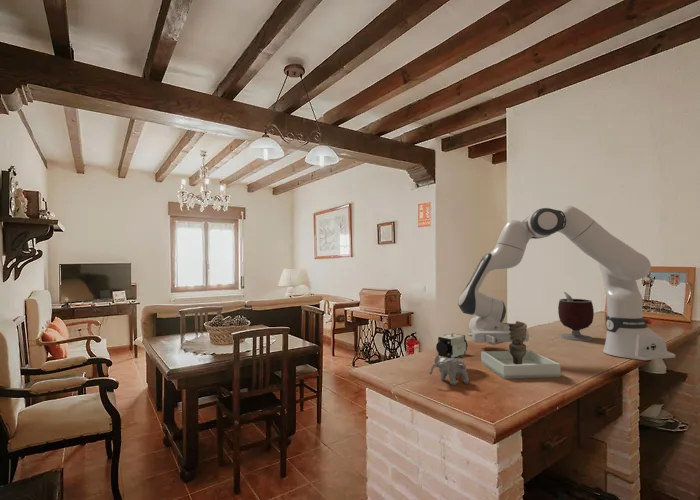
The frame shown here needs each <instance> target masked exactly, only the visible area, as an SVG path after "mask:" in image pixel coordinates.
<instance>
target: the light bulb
mask: <svg viewBox="0 0 700 500" xmlns="http://www.w3.org/2000/svg"><path fill="white" fill-rule="evenodd" d="M527 325H528V324H527V323H525V322H523V321H518V320H517V321H515V323H510V324H509V327H510V328H509V330H510V333H509V334H510V335H511V336H510V339H511V340H512V342H510V343H509V344H508V348H509V350H508V351H509V352H510V354H511V355H512V357H513V363H514V364H516V365H517V364H522V358H523V357H524V355H525V354H526V350H527V344H525V343H524V342H523V341H524V340H525V339H526V331H528V330H527V328H528V326H527Z"/></svg>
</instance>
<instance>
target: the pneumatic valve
mask: <svg viewBox="0 0 700 500" xmlns="http://www.w3.org/2000/svg"><path fill="white" fill-rule="evenodd" d="M444 335H445V336H444ZM444 335H442V336H438V338H437V343H436V344H435V345H436V346H435V348H436V351H437V353H438V355H437V356H440V357H442V358H446V359H451V358H453V359H458V360H460V358H458V357H460V356H459V355H462V356H463V355H465V354H466V351H468V346H467V345H468V341H467V339H466V335H465V334H460V333H459V334H458V333H454V332H449V334H444Z"/></svg>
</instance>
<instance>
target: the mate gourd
mask: <svg viewBox="0 0 700 500" xmlns="http://www.w3.org/2000/svg"><path fill="white" fill-rule="evenodd" d="M563 294H564V295H565V297H566V298H561V299H559V301H558V307H557V309H558V310H557V313H558V319H559V322H561V325H563V326H564V327H567V328H568V329H570V330H572V331H571V333H563V334H560V338H562V339H563V340H564V339H565V340H569V341H577V342H579V341H580V342H588V341H592V340H593V337H592V336H589V335H586V334H581V331H582V330H584V329H587V328H589V327H590V326H591V324H592V323H593V322H594V317H595V316H594V305H593V300H590V299H585V298H584V299H583V298H573V297H572V296H571V295H570V294H569V293H567V292H566V291H565V292H564V293H563ZM580 330H581V331H580Z"/></svg>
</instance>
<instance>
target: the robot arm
mask: <svg viewBox="0 0 700 500" xmlns="http://www.w3.org/2000/svg"><path fill="white" fill-rule="evenodd" d="M557 232H558V233H560V234H563V235H564V236H565V237H566V238H567V239H569V241H571V242H572V243H573V244H574V245H575V246H576V247H577V248H578V249H580V250H581V251H582V252H583V253H584V254H585V255H587V256H588V257H590V258H592V260H593V259H594V260H595V261H596V262H597V263H599V264H598V266H599V270H600V272H601V275H602V276H601V277H602V281H603V285H604V286H603V287H604V290H605V295H606V315H605V327H606V335H605V342H604V346H603V350H602V352H603V353H604V354H607V355H610V356H614V357H619V358H627V359H634V360H640V361H652V360H663V359H672V358H673V359H674V358H676V354H675V353H673V352H671V351H668V347H667V344H666V341H665V339H664V338H663V337H661V336H660V335H659V334H657V332H654V331H653V330H652V329H650V328H649V327H648V325H654V323H655V320H654V319H651V318H645V317H643V315H644V314H643V296H642V293H641V292H640V290H639V286H638V283H637V281H638V280H639V281H640V280H641V279H644V278H645V277H647V276H648V274H649V273H650V272H651V269H652V266H651V261H650V259H649V258H648V257H647V256H646V255H644V254H642V253H640V252H639V251H637V250H635V249H634V248H633V247H631V246H630V245H628V244H627V243H625V242H624V241H622V240H621V239H619V238H617V237H616V236H614V235H613V234H611V233H610V232H609V231H608V230H607V229H605V228H604V227H603V226H602V225H601V224H599V223H598V222H597V221H596V220H594V219H593V218H592V217H591V216H589V215H588V214H587V213H586V212H584V211H582V210H581V209H579V208H577V207H575V206H572V205H569V206H568V205H567V206H565V207H563V208H561V209H559V210H557V209H553V208H550V207H542V208H539V209H537V210H535V211H532V212H531V213H530V214H529V215H528V216H527V217H526V218H524V220H522V221H521V220H515V219H514V220H510V221H508V222H506V223H505V224H504V227H503V228H502V230H501V232H500V234H499V236H498V239H497V241H496V245H495V247H494V248H493V250H491V251H490V252H489V253H485V254H484V256H482V258H481V259H480V260H479V263H478V264H477V266H476V268H475V269H474V272H473V274H471V275H472V276H471V277H470V279H469V281H468V283H467V285H466V286H465V288H464V289H463V291H462V292H461V293H460V295H459V298H458V300H457V305H458V307H459V309H460V310H461V312H462V313H463V314H467V315H469V316H470V315H471V316H473V317H471V319H470V320H469V323H468V326H469V330H470V332H467V336H469V337H471V340H472V341H473V342H474V343H478V344H479V343H487V344H489V345H494V346H496V345H499V344H502V343H512V340H511V339H510V336H511V335H510V334H509V333H510V330H509V328H510V327H509V324H511V323H508V322H504V319H505V317H506V313H507V309H506V304H505V303H504V301H503V299H501V298H498V297H496V296H493V295H489V294H486V293H482V292H480V291H479V290H480V287H482V284H483V282H484V280H485V279H486V277H487V275H488V274H489V273H490V272H491V271H494V270H507V269H508V270H509V269H513V268H515V267H517V266H518V265H519V264H520V263H521V262H522V261H523V258H524V255H525V252H526V248H527V245H528V243H529V241H531V240H533V239H544V238H548V237H550V236H552V235H553V234H555V233H557ZM529 340H530V333H529V331H528V330H527V331H526V339H525V340H524V341H523V343H524V342H528V341H529Z"/></svg>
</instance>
